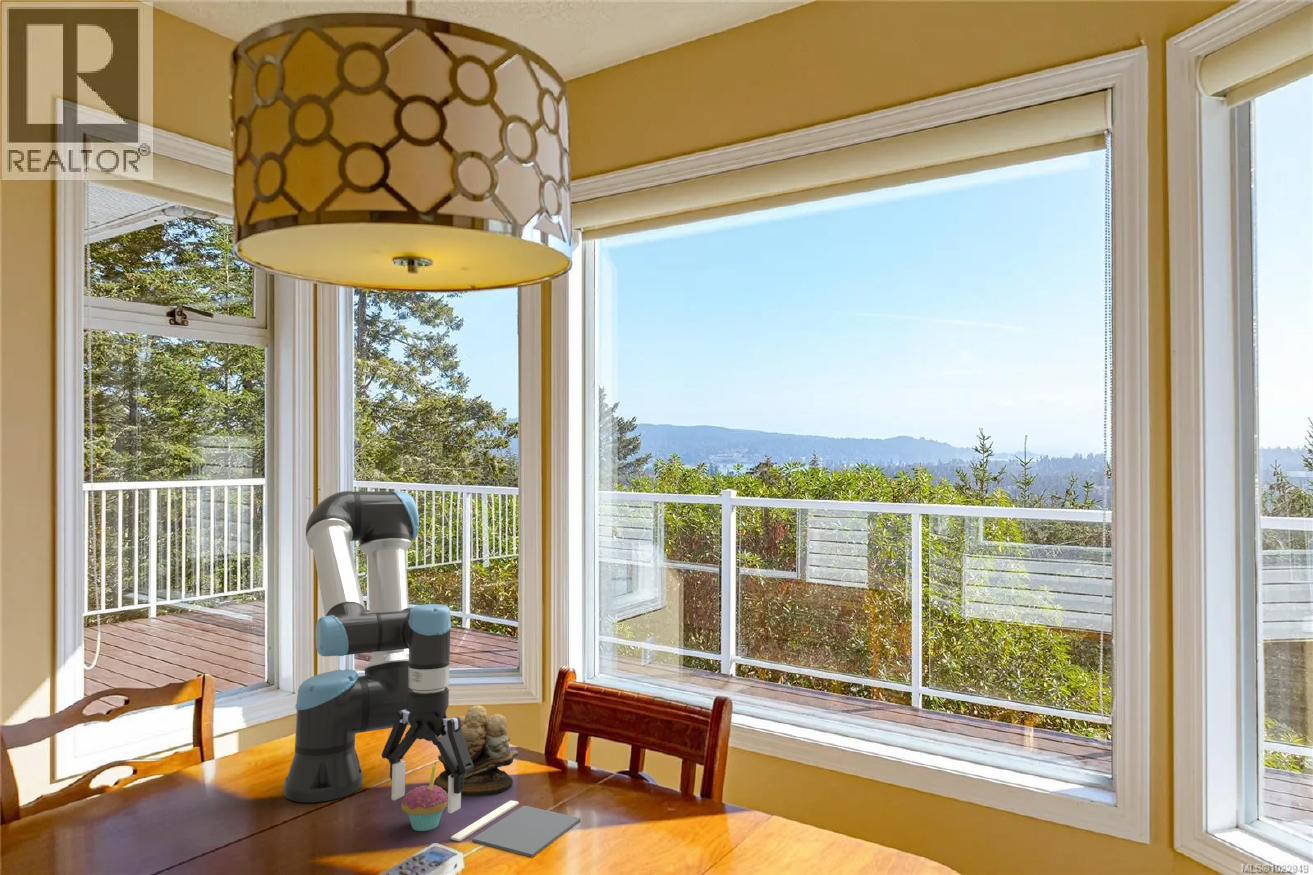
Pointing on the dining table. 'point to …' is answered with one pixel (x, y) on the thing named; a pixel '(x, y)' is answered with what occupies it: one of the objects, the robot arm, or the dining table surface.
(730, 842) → the dining table surface
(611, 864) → the dining table surface
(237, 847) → the dining table surface
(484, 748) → the owl figurine
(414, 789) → the cupcake
